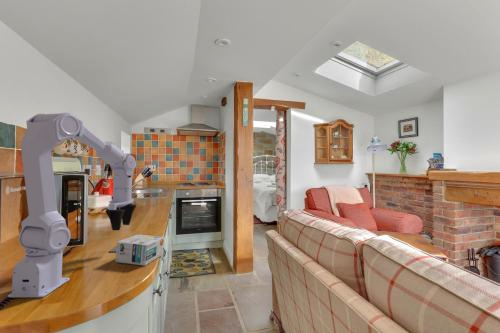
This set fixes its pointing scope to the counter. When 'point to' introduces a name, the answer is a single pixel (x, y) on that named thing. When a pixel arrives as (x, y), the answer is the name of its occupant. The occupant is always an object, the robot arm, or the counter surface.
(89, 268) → the counter surface
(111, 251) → the mat
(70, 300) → the counter surface
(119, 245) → the light bulb box
